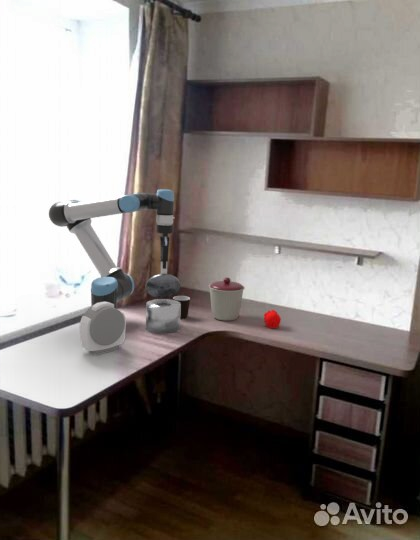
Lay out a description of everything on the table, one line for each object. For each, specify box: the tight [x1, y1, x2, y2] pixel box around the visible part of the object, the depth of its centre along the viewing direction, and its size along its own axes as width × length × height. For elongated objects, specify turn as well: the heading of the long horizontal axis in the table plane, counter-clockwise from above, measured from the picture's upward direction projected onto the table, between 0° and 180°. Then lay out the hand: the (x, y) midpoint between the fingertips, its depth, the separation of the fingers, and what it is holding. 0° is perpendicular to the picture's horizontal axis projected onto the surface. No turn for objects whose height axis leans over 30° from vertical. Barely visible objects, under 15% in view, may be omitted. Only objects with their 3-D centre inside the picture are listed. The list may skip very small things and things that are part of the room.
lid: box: [145, 273, 181, 299], centre depth 237 cm, size 16×16×3 cm
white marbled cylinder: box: [145, 298, 181, 335], centre depth 236 cm, size 16×18×12 cm
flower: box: [263, 309, 282, 329], centre depth 244 cm, size 8×8×8 cm
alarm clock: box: [79, 301, 127, 356], centre depth 205 cm, size 18×8×20 cm, turn 133°
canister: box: [208, 277, 246, 322], centre depth 254 cm, size 18×18×21 cm
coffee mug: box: [172, 295, 191, 320], centre depth 255 cm, size 12×9×10 cm
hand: (163, 274), depth 233 cm, fingers closed
